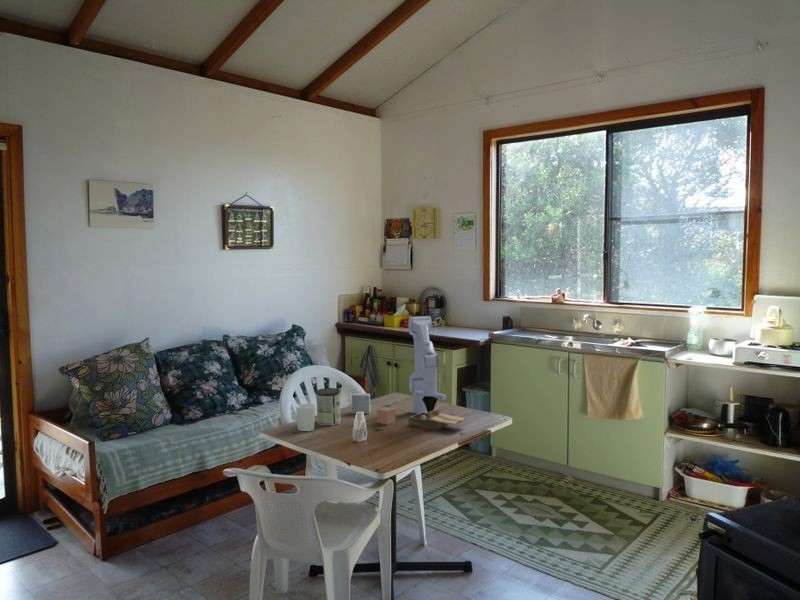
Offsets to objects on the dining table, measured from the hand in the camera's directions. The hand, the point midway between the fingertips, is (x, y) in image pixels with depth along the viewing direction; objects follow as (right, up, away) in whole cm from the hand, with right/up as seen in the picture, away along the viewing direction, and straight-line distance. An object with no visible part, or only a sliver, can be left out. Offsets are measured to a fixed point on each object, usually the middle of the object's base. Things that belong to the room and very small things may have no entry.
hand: (430, 414), depth 262 cm
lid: (+6, -2, -4) cm, 8 cm away
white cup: (-52, -6, -4) cm, 53 cm away
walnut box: (-1, -5, +1) cm, 5 cm away
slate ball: (-3, -4, +5) cm, 7 cm away
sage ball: (-2, -5, 0) cm, 5 cm away
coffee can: (-44, -5, +6) cm, 44 cm away
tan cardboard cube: (-19, -5, +5) cm, 20 cm away
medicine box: (-31, -4, +21) cm, 37 cm away
